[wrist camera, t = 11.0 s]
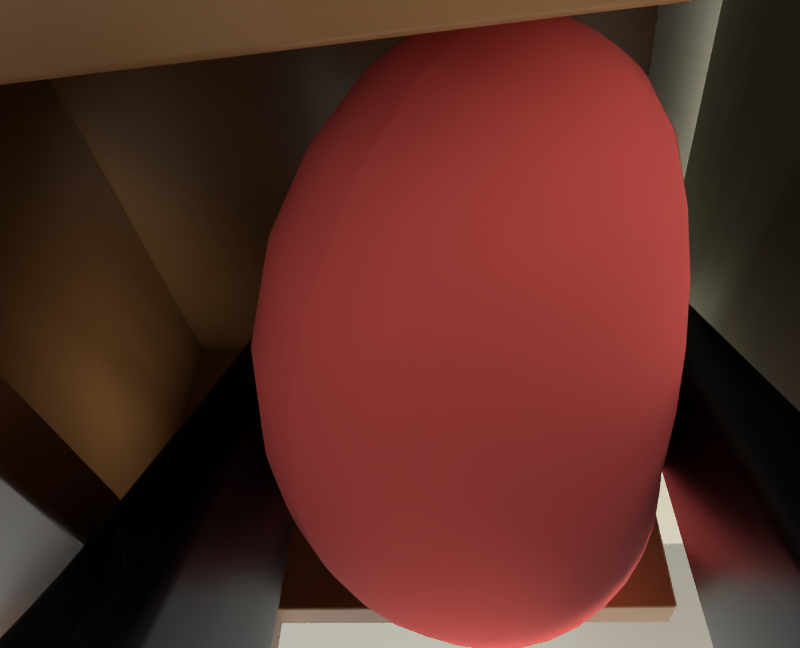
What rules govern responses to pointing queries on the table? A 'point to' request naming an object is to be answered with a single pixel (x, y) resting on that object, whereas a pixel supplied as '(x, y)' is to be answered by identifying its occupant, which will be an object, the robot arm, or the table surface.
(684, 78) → the table surface
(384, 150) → the red bean-shaped piece
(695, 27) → the table surface
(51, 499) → the cabinet
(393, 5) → the drawer
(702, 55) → the table surface
